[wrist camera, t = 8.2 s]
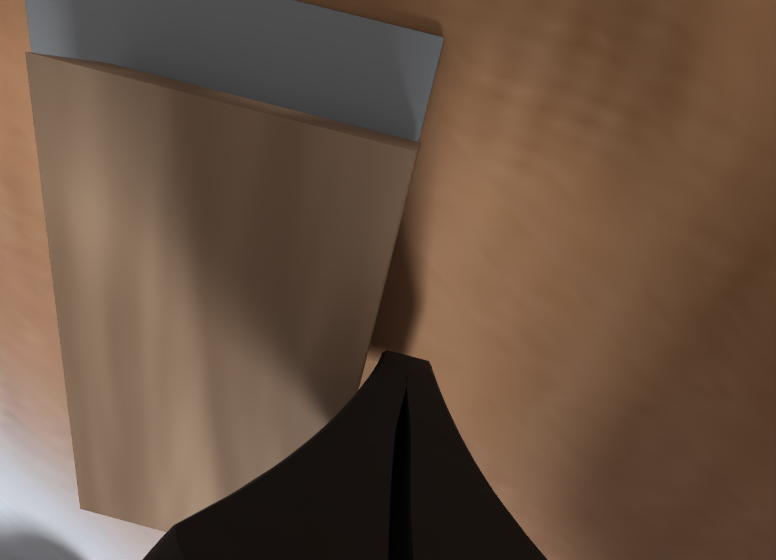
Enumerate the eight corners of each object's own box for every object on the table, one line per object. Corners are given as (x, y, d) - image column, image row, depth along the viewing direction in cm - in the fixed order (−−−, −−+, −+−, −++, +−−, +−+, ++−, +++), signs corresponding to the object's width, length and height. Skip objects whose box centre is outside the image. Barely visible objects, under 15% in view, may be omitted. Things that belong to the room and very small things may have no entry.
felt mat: (443, 38, 8) (444, 37, 8) (321, 534, 15) (320, 539, 15) (26, -66, 9) (16, -69, 8) (84, 470, 15) (80, 474, 15)
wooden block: (416, 152, 7) (25, 51, 7) (311, 571, 12) (80, 508, 12) (421, 141, 9) (117, 64, 9) (330, 503, 14) (133, 449, 14)
